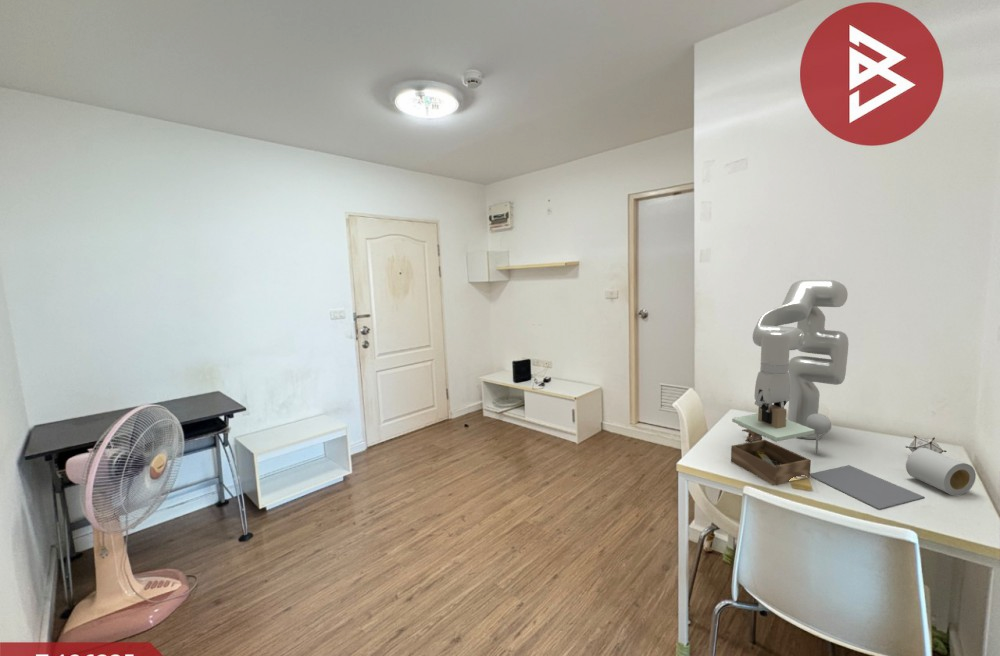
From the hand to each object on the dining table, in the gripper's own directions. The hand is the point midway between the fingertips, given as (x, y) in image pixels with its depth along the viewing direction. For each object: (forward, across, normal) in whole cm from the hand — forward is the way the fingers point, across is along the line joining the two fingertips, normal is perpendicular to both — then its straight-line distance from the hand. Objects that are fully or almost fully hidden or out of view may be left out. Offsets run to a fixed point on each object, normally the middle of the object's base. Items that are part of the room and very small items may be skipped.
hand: (771, 420), depth 132 cm
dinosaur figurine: (+18, -12, -17) cm, 27 cm away
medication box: (+17, +2, 0) cm, 18 cm away
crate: (+17, +1, 0) cm, 17 cm away
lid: (+2, 0, 0) cm, 2 cm away
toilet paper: (+18, -36, +24) cm, 47 cm away
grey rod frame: (+18, -52, +12) cm, 57 cm away
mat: (+17, -16, +17) cm, 29 cm away
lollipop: (+18, -24, -3) cm, 30 cm away
